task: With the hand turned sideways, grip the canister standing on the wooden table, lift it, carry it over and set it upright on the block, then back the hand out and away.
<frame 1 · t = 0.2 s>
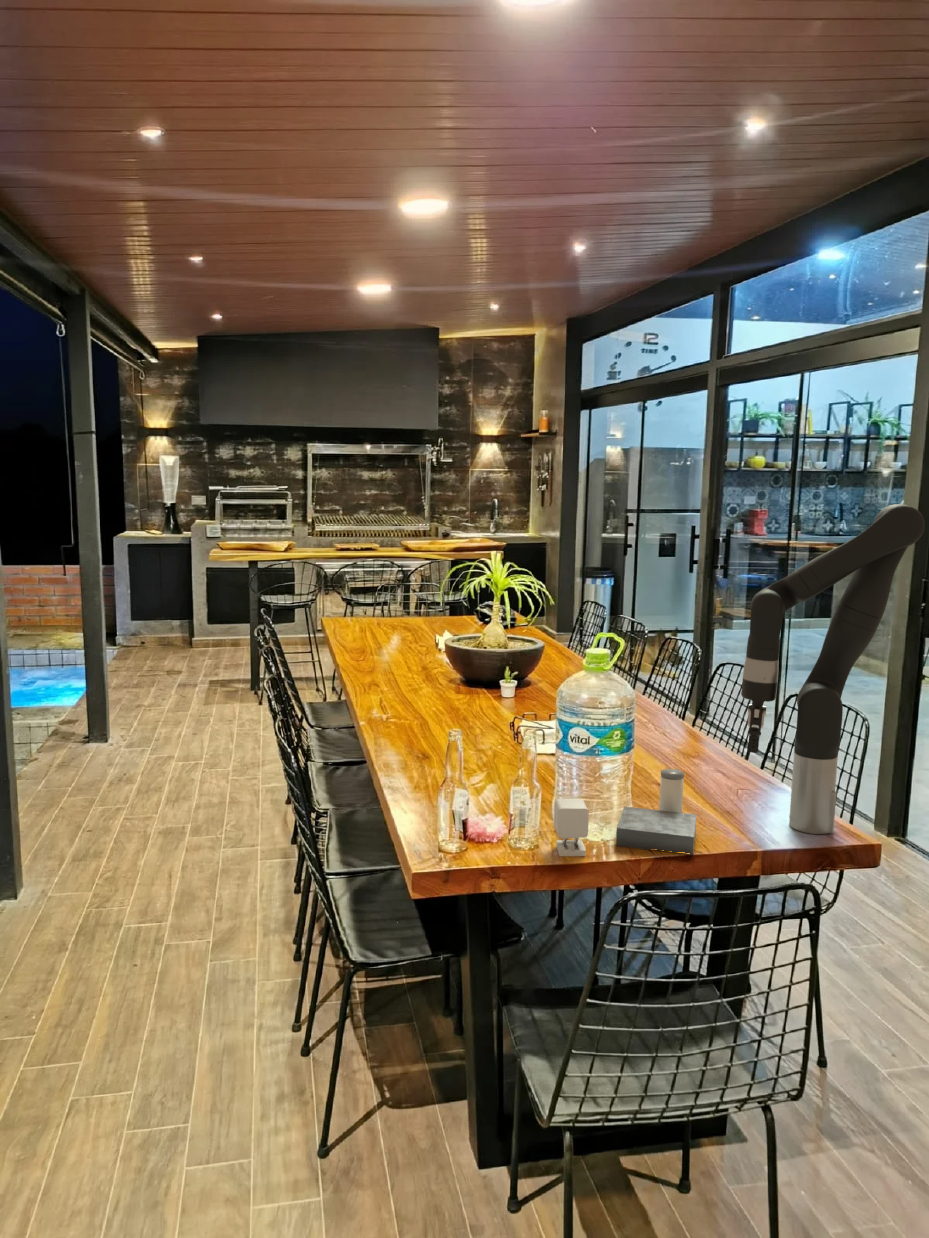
hand: (753, 747, 211), 18 cm above the table, tool pointing down, fingers open, 8 cm apart
security camera: (570, 850, 195), on the table
block: (656, 838, 202), on the table
canister: (670, 817, 215), on the table
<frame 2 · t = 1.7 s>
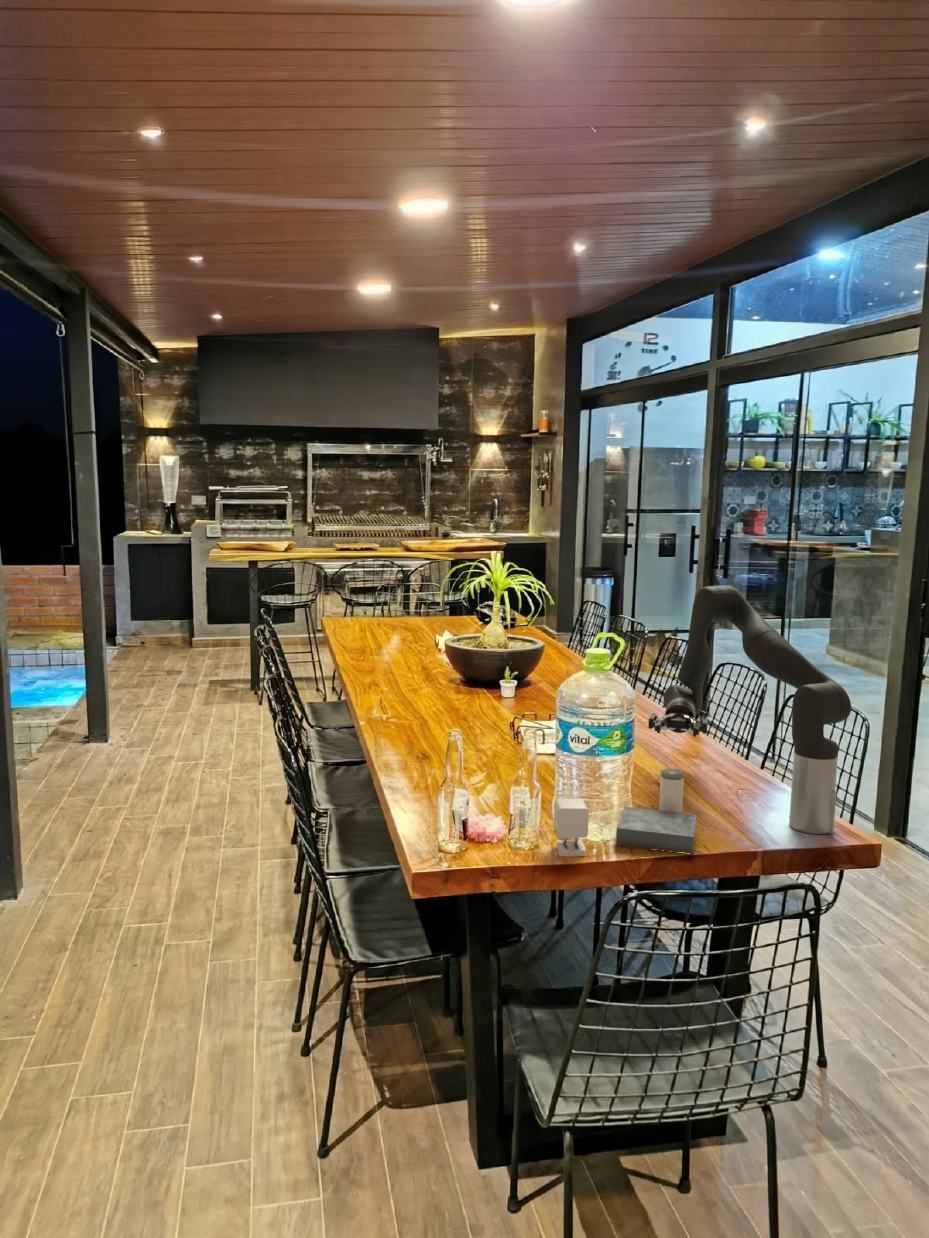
hand: (676, 730, 224), 18 cm above the table, tool horizontal, fingers open, 8 cm apart
nothing on the table moved.
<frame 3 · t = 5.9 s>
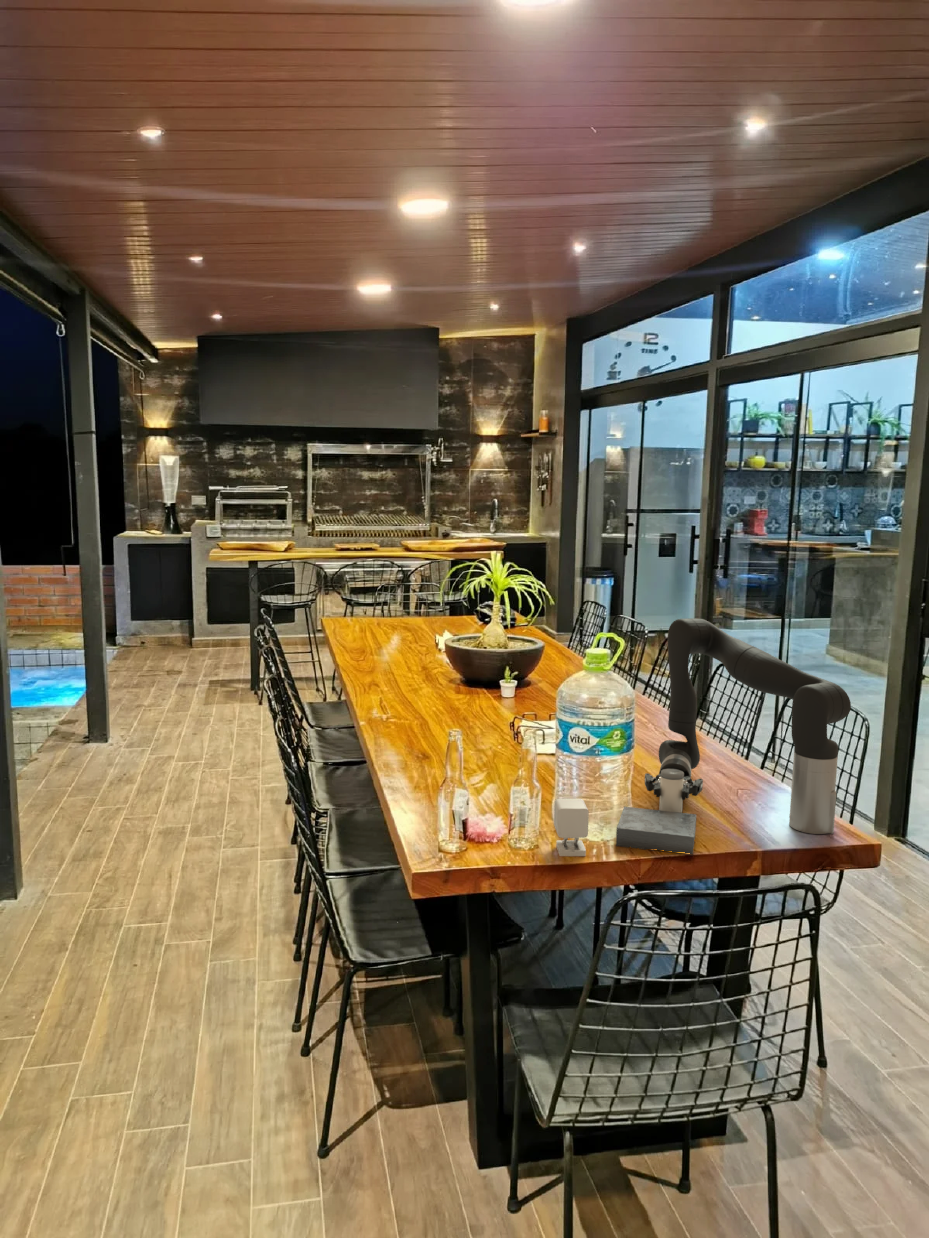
hand: (670, 794, 211), 7 cm above the table, tool horizontal, fingers closed on canister, 5 cm apart
canister: (670, 817, 215), on the table, touching gripper
everything else where it was.
when the fingers open (12 cm above the table, at t = 10.6 s): canister drops 1 cm, resting on block.
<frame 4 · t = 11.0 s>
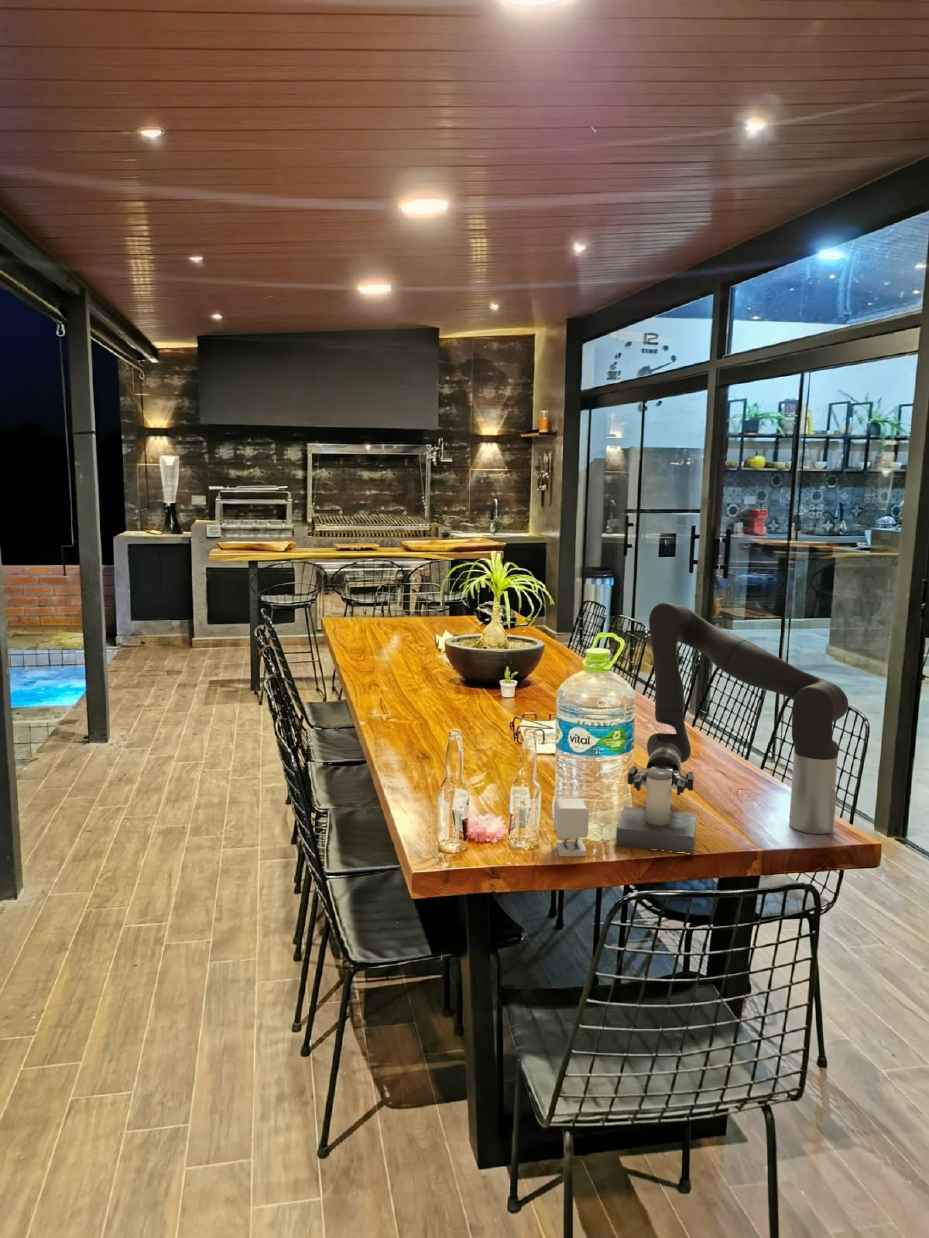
hand: (658, 788, 199), 12 cm above the table, tool horizontal, fingers open, 8 cm apart
canister: (657, 820, 202), point 4 cm above the table, touching block
everything else where it was.
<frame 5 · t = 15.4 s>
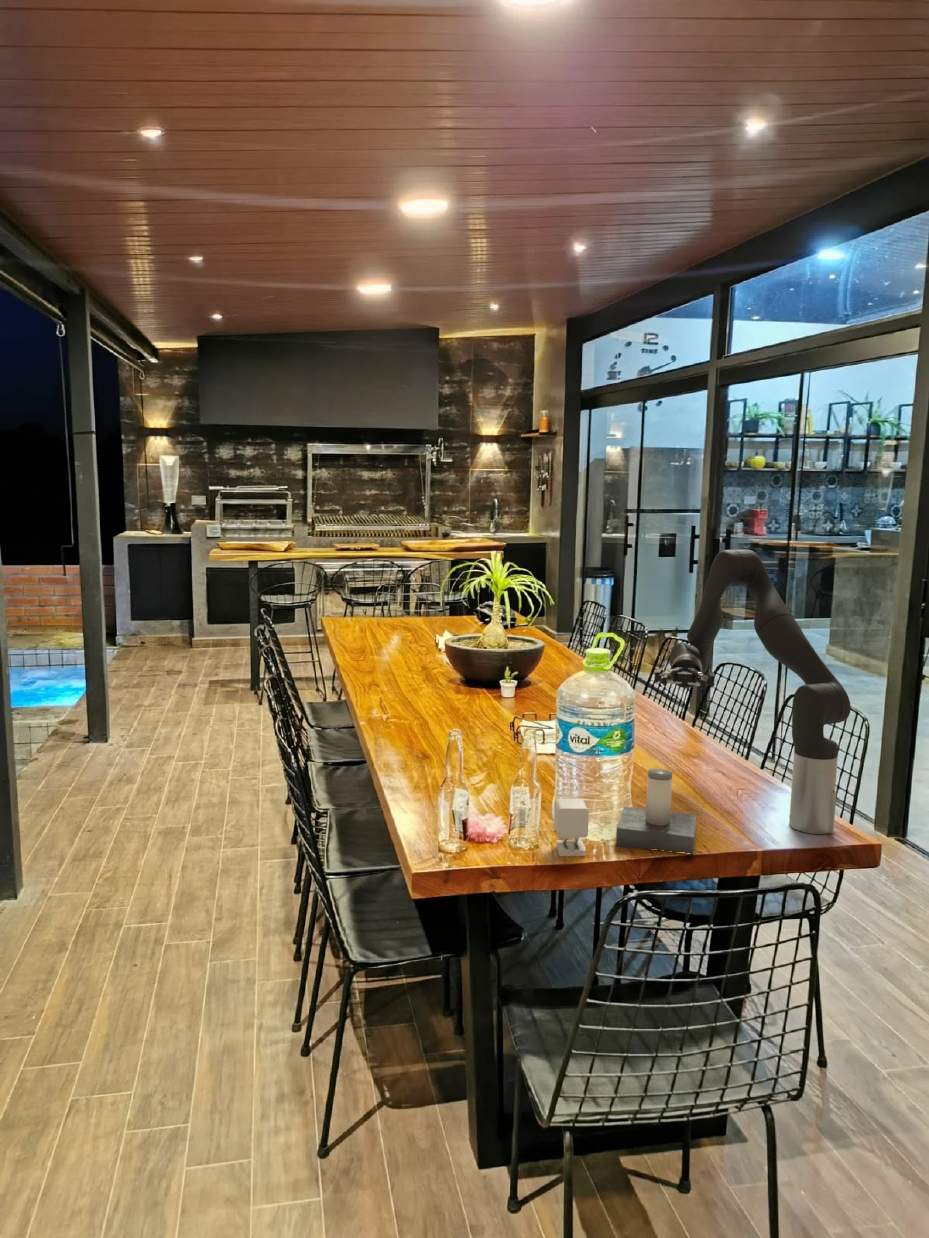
hand: (683, 683, 220), 30 cm above the table, tool horizontal, fingers open, 8 cm apart
nothing on the table moved.
at the end: canister inside the target area on the block (0.1 cm from its centre), point 4.0 cm above the block's base; canister tilted 0°; the gripper is holding nothing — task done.
